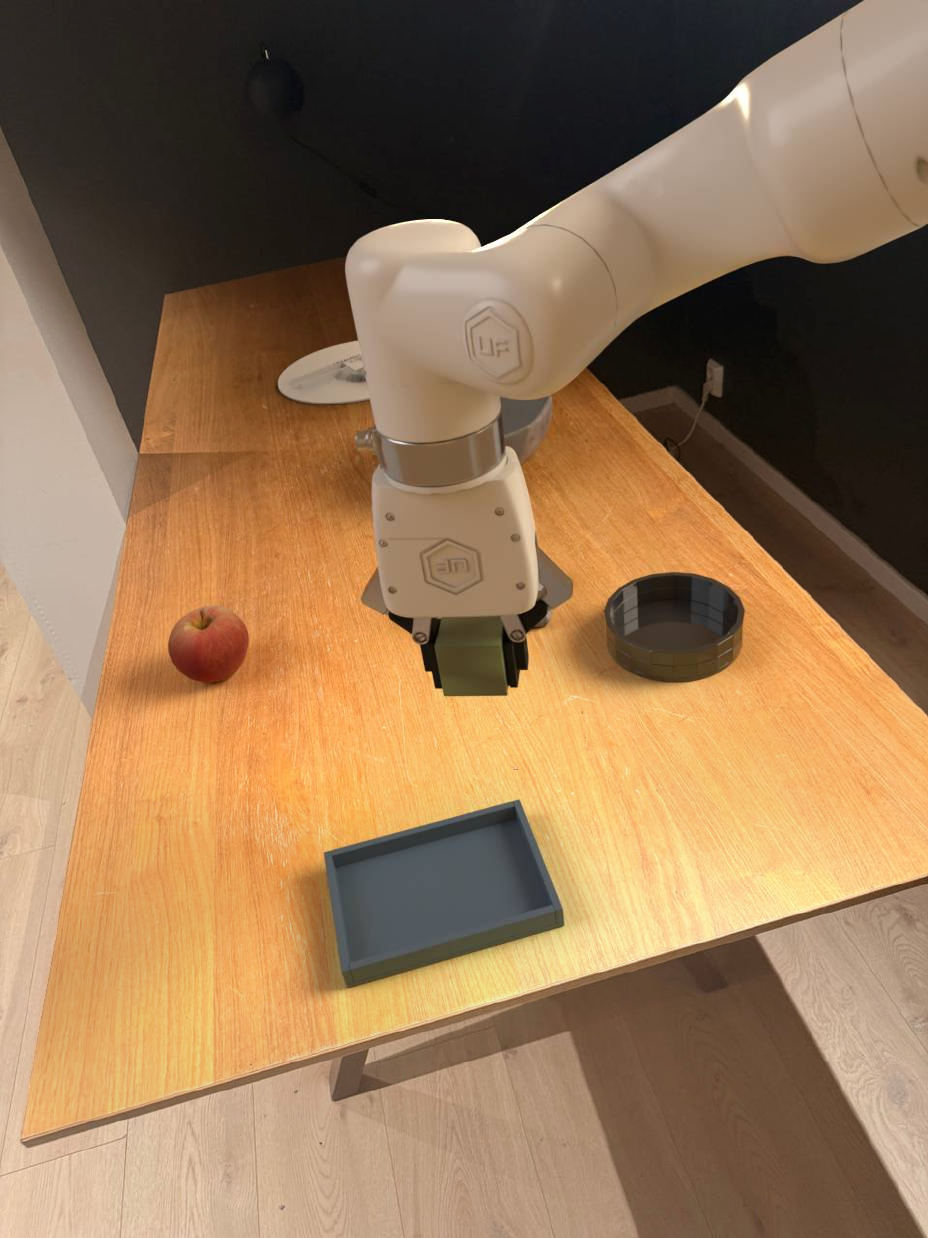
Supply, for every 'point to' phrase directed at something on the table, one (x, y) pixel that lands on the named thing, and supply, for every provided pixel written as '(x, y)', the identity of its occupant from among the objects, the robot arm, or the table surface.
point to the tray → (438, 892)
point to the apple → (208, 644)
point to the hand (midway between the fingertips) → (478, 673)
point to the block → (471, 656)
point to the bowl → (525, 424)
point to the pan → (674, 626)
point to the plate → (327, 376)
